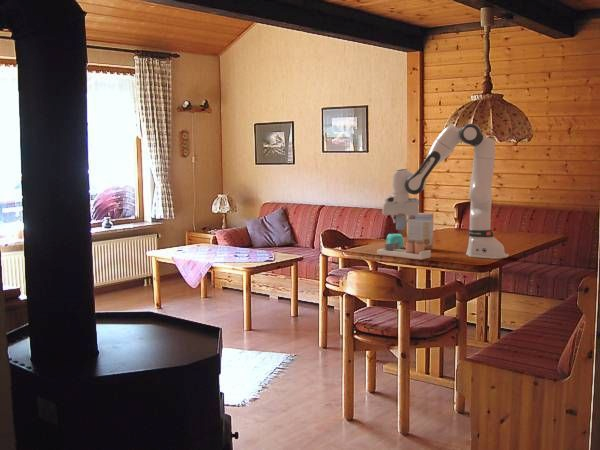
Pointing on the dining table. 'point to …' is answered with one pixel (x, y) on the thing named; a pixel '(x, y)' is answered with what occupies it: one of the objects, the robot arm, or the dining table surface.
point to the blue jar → (400, 222)
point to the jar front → (418, 247)
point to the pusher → (392, 246)
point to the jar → (410, 246)
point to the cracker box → (421, 229)
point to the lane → (405, 254)
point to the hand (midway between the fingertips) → (400, 222)
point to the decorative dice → (395, 239)
